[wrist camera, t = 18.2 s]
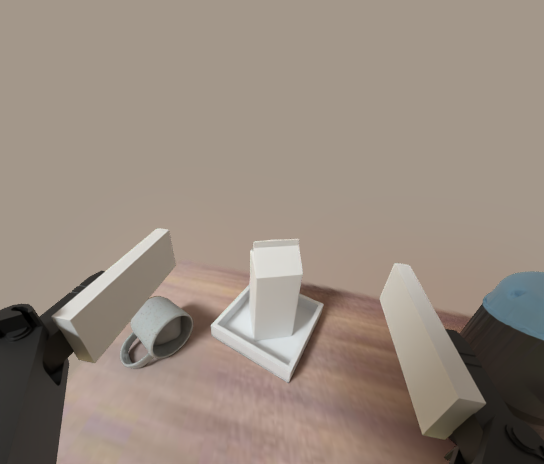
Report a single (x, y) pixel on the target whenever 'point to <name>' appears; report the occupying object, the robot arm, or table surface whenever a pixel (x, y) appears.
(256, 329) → the milk carton
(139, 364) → the ceramic mug
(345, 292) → the table surface
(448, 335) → the robot arm
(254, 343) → the tray
